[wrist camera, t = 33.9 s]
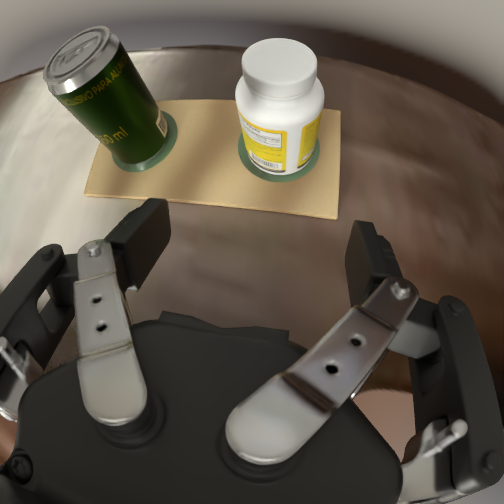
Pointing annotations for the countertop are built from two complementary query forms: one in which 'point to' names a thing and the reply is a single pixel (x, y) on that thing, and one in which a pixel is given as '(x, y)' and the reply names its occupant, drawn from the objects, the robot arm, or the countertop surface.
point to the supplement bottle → (279, 104)
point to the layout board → (222, 166)
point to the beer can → (107, 95)
